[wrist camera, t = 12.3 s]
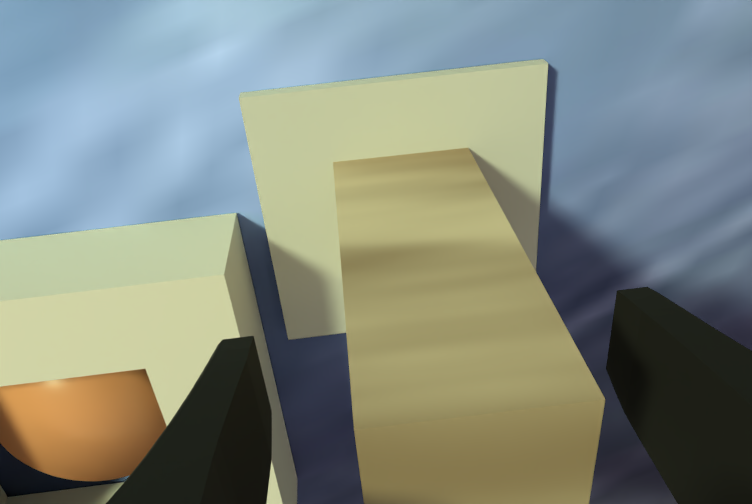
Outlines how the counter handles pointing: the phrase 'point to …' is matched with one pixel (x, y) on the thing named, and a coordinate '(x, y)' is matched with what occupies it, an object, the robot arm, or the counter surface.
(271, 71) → the counter surface
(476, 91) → the rubber mat
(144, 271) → the cream square frame
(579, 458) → the wood grain block
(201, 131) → the counter surface
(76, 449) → the button
